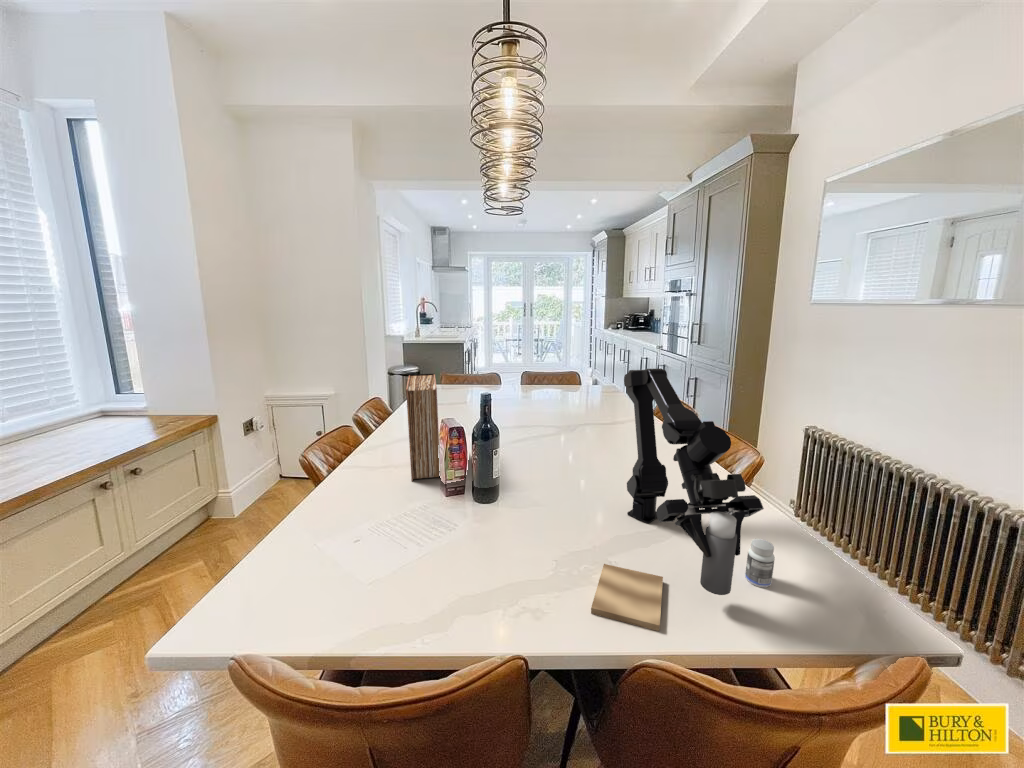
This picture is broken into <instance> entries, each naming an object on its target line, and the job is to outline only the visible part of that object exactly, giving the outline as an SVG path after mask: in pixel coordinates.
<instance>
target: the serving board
mask: <svg viewBox="0 0 1024 768" xmlns="http://www.w3.org/2000/svg"><path fill="white" fill-rule="evenodd" d="M663 579H664V576H660V575H657V574H652V573H647V572H642V571H638V570H634V569H629V568H625V567H620V566H615V565H612V564H606V563H604V564H603V565H602V568H601V572H600V576H599V579H598V583H597V586H596V589H595V593H594V595H593V596H594V597H593V600H592V603H591V604H592V605H591V606H590V607H591V608H590V614H592V615H596V616H600V617H602V618H607V619H611V620H614V621H618V622H623V623H626V624H629V625H633V626H638V627H640V628H645V629H649V630H651V631H655V632H660V626H661V611H662V609H661V608H662V599H663V598H662V597H663V585H664V584H663V583H664V582H663V581H664V580H663Z"/></svg>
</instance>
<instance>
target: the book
mask: <svg viewBox="0 0 1024 768" xmlns="http://www.w3.org/2000/svg"><path fill="white" fill-rule="evenodd" d="M405 389H406V408H407V423H408V424H407V427H408V440H409V443H408V445H409V457H410V458H409V459H410V477H411V482H414V480H417V479H428V478H430V479H431V478H439V458H438V445H439V446H440V434H439V432H440V431H439V412H438V411H439V409H438V390H437V389H438V387H437V380H436V374H435V373H419V374H408V378H407V382H406V388H405Z"/></svg>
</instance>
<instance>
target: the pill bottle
mask: <svg viewBox="0 0 1024 768" xmlns="http://www.w3.org/2000/svg"><path fill="white" fill-rule="evenodd" d="M774 551H775V545H774V544H773V543H771V541H768V540H766V539H763V538H753V539H752V540H751V542H750V547H749V548H748V551H747V558H746V566H745V573H744V574H745V575H744V576H745V580H746V581H748V583H750V584H751V585H753V586H756V587H759V588H768V587H770V586H771V585H772V580H773V574H774V568H775V560H776V559H775V555H774Z"/></svg>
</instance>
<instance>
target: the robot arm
mask: <svg viewBox="0 0 1024 768" xmlns="http://www.w3.org/2000/svg"><path fill="white" fill-rule="evenodd" d="M623 384H624V386H625V388H626V389H625V390H626V395H627V396H628V398H629V399H630V400H631V402H632V403H633V410H634V422H635V433H636V435H635V436H636V437H635V438H636V448H637V460H636V462H635V464H634V465H633V467H632V475H631V477H630V478H629V479H628V481H627V482H626V491H627V492H628V494H629V495H630V497H632V500H633V501H632V509H631V510H629V511H627V515H628V516H629V517H632V518H635V519H637V520H639V521H641V522H644V523H646V524H650V523H652V522H653V521H655V520H657V521H658V522H659V523H668V522H674V521H675V520H676V521H675V522H674V525H675V526H677V527H678V526H679V527H680V528H681V529H682V530H683V531H684V533H686V535H688V536H689V537H690V538H691V540H692V541H693V543H695V545H696V546H697V548H698V549H699V550H700V552H702V555H703V554H704V555H705V556H706V557H707V558H709V557H711V554H710V549H709V546H708V543H707V540H706V537H705V531H704V528H703V525H702V515H706V514H709V515H710V513H712V512H716V511H718V512H725V513H728V514H730V515H732V516H734V517H735V518H736V520H737V521H736V530H735V533H736V534H737V543H736V551H735V556H740V555H741V536H742V535H741V531H742V523H743V521H744V519H745V518H749V517H751V516H753V515H755V514H757V513H758V512H761V511H762V510H764V509H765V508H764V506H763V503H762V501H761V499H760V498H759V497H757V496H756V495H753V494H752V495H751V494H750V495H739V492H740V493H743V492H745V491H746V489H747V488H746V482H745V480H744V477H743V476H742V473H736V474H735V473H732V474H730V473H729V474H727V476H726V479H720V476H719V474H718V473H717V472H713V470H712V467H711V465H713V464H714V463H715V462H716V461H717V460H719V459H720V458H722V457H723V455H724V454H726V453H727V452H728V451H729V450H730V449H731V446H732V440H731V437H730V435H728V434H727V432H725V431H724V430H723V429H722V428H721V427H718V426H716V425H715V423H714V421H712V420H711V421H710V420H709V421H707V420H706V421H705V420H704V421H702V420H701V419H700V417H699V416H698V415H697V414H696V413H695V412H694V411H693V410H691V409H689V408H687V407H686V406H684V404H683V403H682V401H681V399H680V397H679V395H678V394H677V392H676V391H675V389H674V387H673V385H672V383H671V382H670V380H669V379H668V372H667V371H666V369H663V368H646V369H630V370H629V371H628V372H627V373H626V374H624V378H623ZM653 402H655V404H656V406H657V407H658V410H659V412H660V414H661V415H662V419H663V421H662V424H661V429H662V434H663V437H664V439H665V440H666V442H667V443H668V444H669V445H682V446H681V447H680V448H676V449H675V450H676V451H675V454H674V455H673V458H672V460H673V462H677V463H678V467H679V470H680V473H681V476H682V480H683V482H682V483H681V488H682V489H683V490H686V494H687V498H688V501H689V502H687V501H686V500H685V499H684V498H681V499H680V498H679V499H678V498H676V499H666V500H665V501H663V502H662V503H661V504H659V506H658V507H657V499H658V497H659V498H660V497H662V498H665V497H666V496H665V495H666V492H667V489H668V486H669V480H668V477H667V467H666V465H664V464H663V463H662V462H661V461H660V460H659V458H658V452H657V451H658V449H657V439H656V428H655V417H654V415H655V414H654V403H653ZM730 498H733V499H731V500H730V501H727V500H728V499H730ZM726 501H727V502H726Z"/></svg>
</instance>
